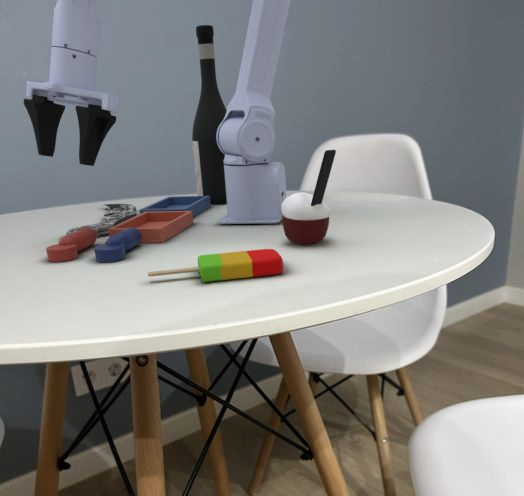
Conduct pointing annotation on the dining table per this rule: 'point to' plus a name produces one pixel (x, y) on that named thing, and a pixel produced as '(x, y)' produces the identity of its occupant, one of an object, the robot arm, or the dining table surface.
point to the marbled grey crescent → (110, 218)
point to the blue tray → (180, 204)
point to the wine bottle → (208, 124)
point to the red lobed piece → (71, 245)
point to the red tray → (156, 225)
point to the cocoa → (308, 209)
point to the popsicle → (233, 265)
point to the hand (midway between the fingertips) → (65, 160)
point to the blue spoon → (118, 245)
